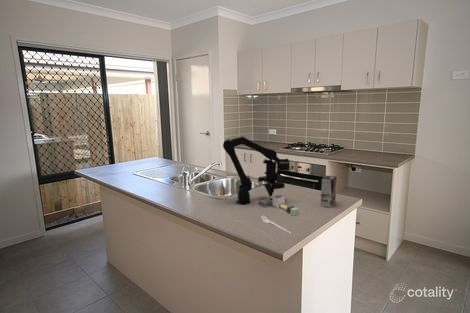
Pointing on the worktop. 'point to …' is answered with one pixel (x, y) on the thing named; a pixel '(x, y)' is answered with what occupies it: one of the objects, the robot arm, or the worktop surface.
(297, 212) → the cord rig
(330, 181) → the coffee box
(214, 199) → the worktop surface
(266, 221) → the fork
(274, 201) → the grey block
